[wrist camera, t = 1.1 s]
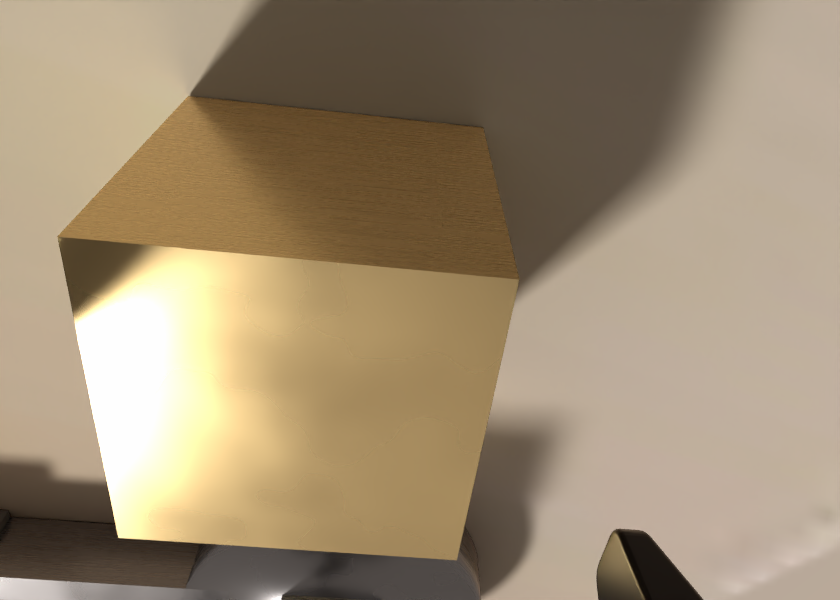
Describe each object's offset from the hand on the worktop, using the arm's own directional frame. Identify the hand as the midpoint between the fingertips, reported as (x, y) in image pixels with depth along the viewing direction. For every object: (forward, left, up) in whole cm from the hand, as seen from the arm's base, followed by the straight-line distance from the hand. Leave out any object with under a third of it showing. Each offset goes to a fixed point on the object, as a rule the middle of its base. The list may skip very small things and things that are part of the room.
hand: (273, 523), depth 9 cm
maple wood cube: (0, 0, -8) cm, 8 cm away
